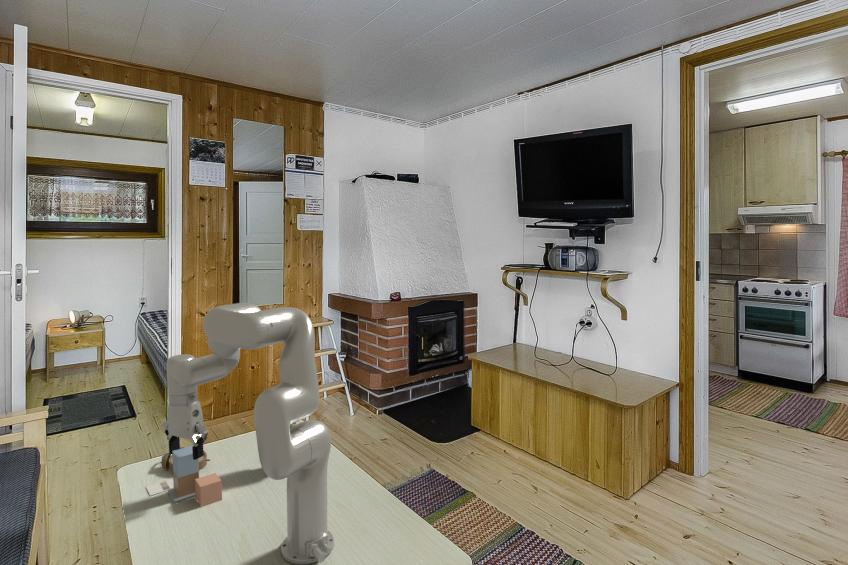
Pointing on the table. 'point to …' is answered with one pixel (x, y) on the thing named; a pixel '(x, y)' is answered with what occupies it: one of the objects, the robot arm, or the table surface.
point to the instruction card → (160, 487)
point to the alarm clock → (168, 461)
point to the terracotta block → (208, 489)
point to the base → (183, 487)
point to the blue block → (184, 462)
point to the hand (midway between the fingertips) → (186, 454)
